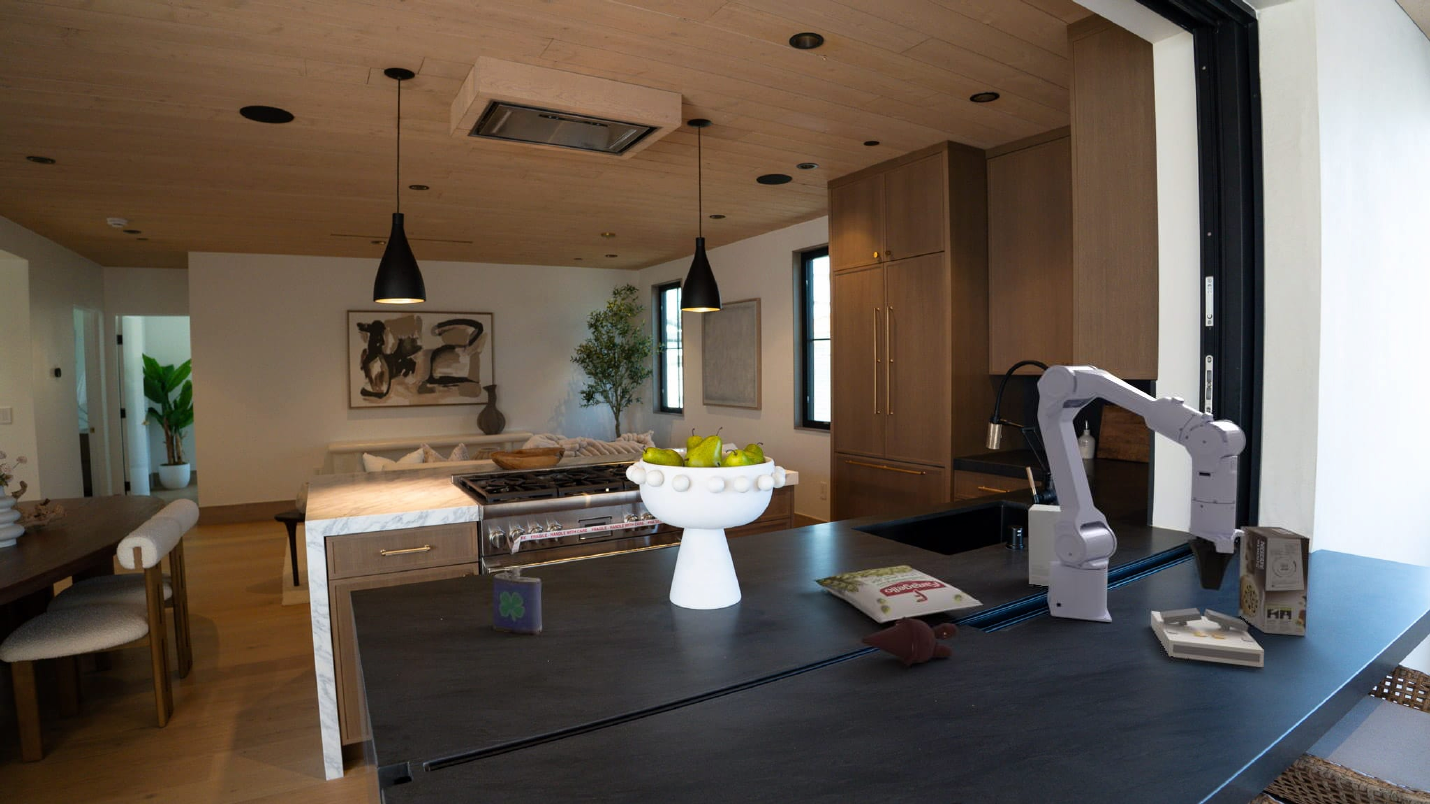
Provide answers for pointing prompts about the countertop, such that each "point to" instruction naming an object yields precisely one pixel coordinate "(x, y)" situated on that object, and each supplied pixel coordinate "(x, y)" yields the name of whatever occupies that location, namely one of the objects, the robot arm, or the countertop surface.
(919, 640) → the icecream
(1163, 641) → the console
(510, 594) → the flask
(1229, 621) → the rocker right
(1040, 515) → the skincare box
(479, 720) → the countertop surface
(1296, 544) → the coffee box
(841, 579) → the frozen beans
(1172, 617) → the block
